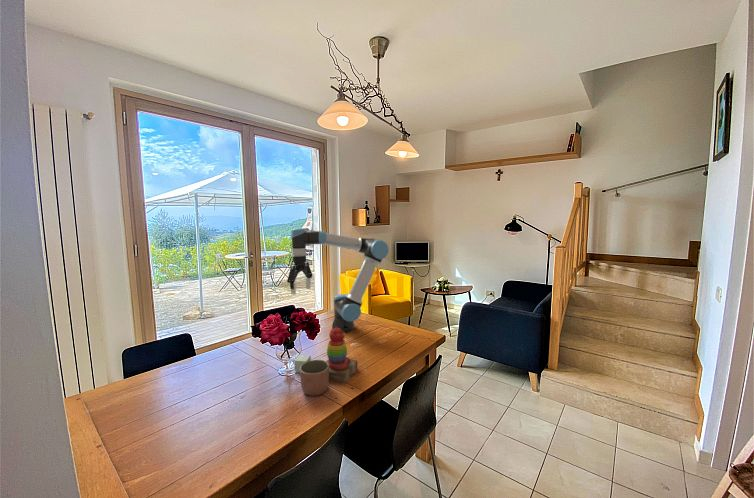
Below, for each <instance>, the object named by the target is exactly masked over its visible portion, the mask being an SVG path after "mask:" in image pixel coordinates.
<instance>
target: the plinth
mask: <svg viewBox="0 0 754 498" xmlns="http://www.w3.org/2000/svg"><path fill="white" fill-rule="evenodd" d="M325 361H326V362H327V363H328V362H329V359H328V360H325ZM357 370H358V360H357V359H351V358H350V362H349V363H347V368H346V369H344V370H337V369H333V368H330V367H329V382H332V383H333V382H334V383H338V384H343V385H345V384H346V383H347V382H348V381H349V380H350V379H351V377H352V376H354V374H355V372H357Z"/></svg>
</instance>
